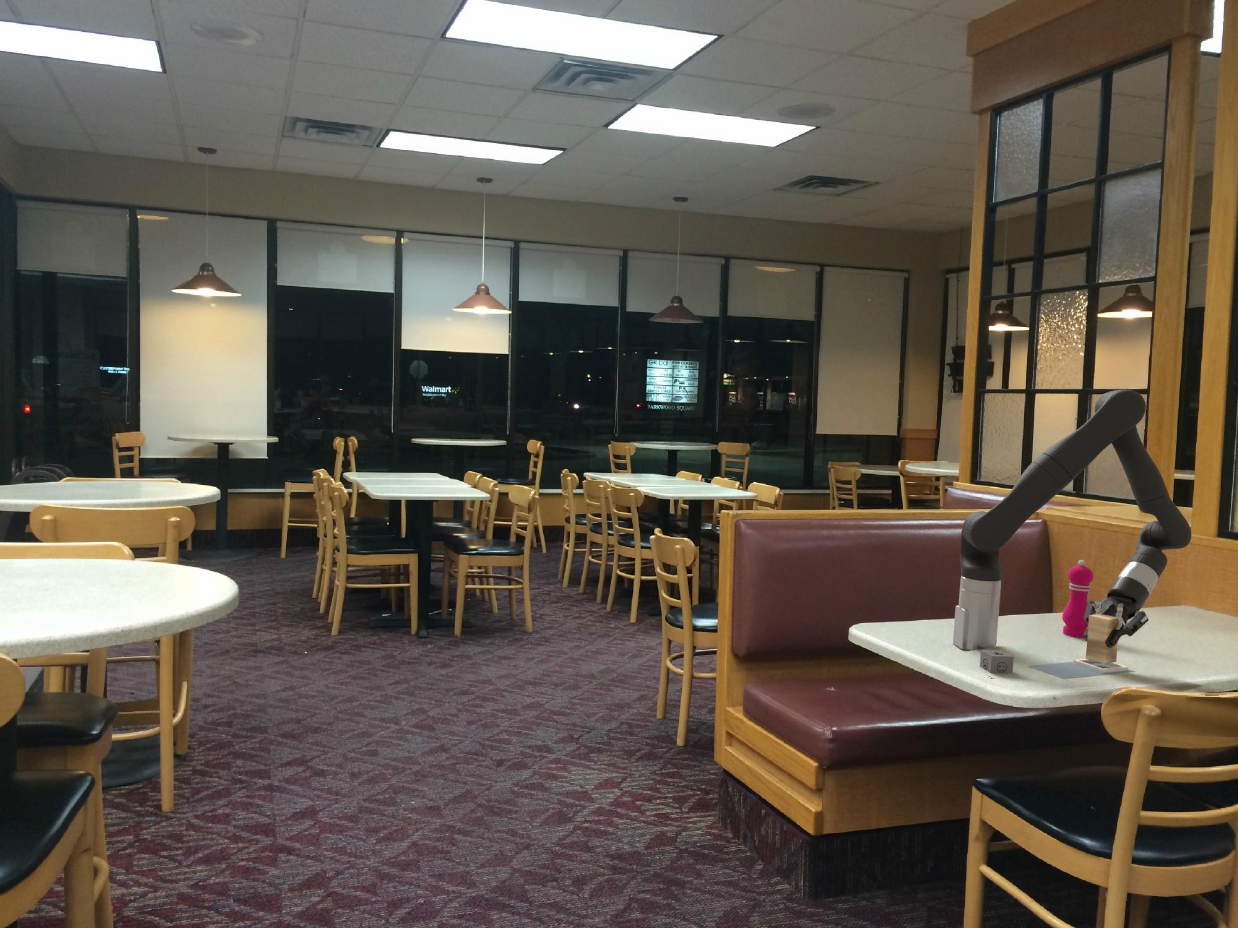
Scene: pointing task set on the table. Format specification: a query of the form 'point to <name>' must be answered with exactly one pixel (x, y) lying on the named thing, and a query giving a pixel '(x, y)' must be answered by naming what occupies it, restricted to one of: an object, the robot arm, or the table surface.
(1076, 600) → the pepper mill
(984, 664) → the dice cube
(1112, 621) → the wooden pillar
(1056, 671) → the building board
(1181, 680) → the table surface
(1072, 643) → the table surface
